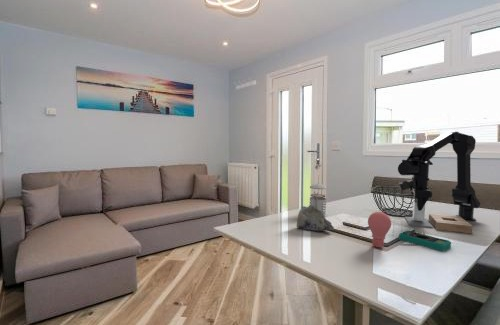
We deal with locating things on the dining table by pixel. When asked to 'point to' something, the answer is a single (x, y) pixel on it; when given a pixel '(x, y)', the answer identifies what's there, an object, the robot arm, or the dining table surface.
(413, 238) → the digital multimeter
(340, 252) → the dining table surface
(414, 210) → the steel peg
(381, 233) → the light bulb
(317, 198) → the french press
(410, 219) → the grey flat slab
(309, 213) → the mineral rock
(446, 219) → the walnut socket block
